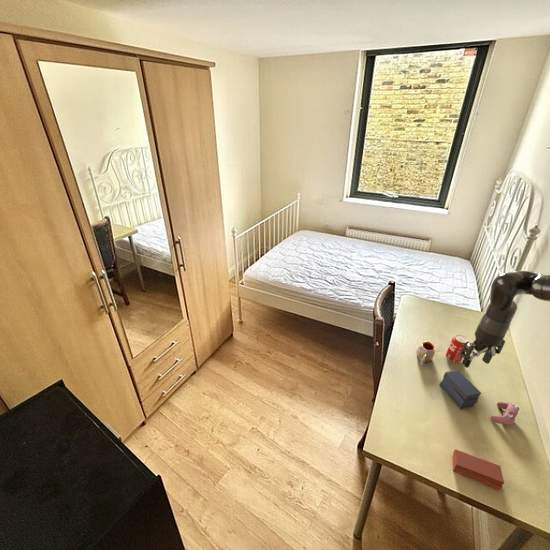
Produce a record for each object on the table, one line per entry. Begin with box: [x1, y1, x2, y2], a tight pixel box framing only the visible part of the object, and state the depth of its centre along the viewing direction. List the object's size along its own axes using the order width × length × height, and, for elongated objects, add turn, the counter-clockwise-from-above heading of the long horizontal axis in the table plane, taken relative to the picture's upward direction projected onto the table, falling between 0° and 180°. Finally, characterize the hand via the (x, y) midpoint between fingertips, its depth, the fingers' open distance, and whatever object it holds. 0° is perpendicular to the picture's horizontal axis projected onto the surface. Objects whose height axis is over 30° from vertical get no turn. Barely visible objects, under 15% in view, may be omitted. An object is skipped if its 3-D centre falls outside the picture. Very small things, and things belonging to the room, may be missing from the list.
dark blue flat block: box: [442, 369, 482, 400], centre depth 109 cm, size 11×6×2 cm, turn 13°
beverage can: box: [445, 334, 470, 364], centre depth 126 cm, size 6×6×12 cm
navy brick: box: [439, 377, 479, 410], centre depth 111 cm, size 12×7×5 cm, turn 13°
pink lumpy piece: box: [489, 401, 520, 425], centre depth 103 cm, size 10×5×7 cm, turn 132°
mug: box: [416, 341, 436, 366], centre depth 127 cm, size 12×7×7 cm, turn 142°
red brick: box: [452, 448, 505, 492], centre depth 87 cm, size 12×6×4 cm, turn 63°
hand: (475, 363), depth 102 cm, fingers open, 8 cm apart
